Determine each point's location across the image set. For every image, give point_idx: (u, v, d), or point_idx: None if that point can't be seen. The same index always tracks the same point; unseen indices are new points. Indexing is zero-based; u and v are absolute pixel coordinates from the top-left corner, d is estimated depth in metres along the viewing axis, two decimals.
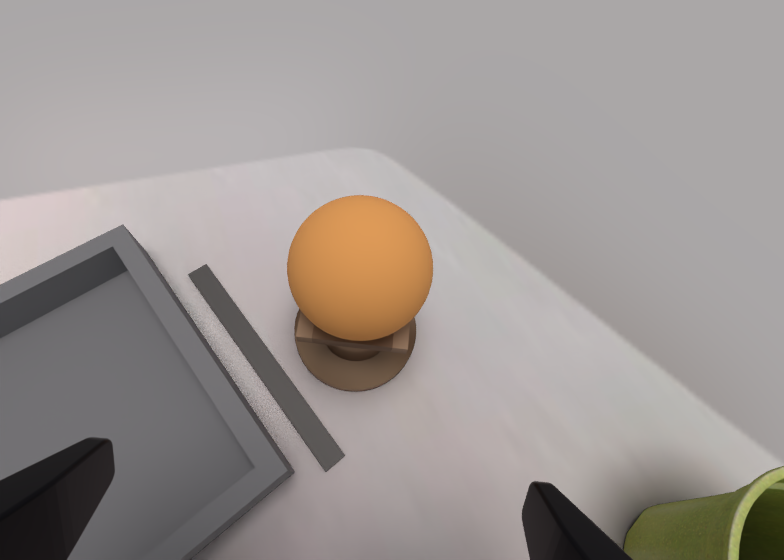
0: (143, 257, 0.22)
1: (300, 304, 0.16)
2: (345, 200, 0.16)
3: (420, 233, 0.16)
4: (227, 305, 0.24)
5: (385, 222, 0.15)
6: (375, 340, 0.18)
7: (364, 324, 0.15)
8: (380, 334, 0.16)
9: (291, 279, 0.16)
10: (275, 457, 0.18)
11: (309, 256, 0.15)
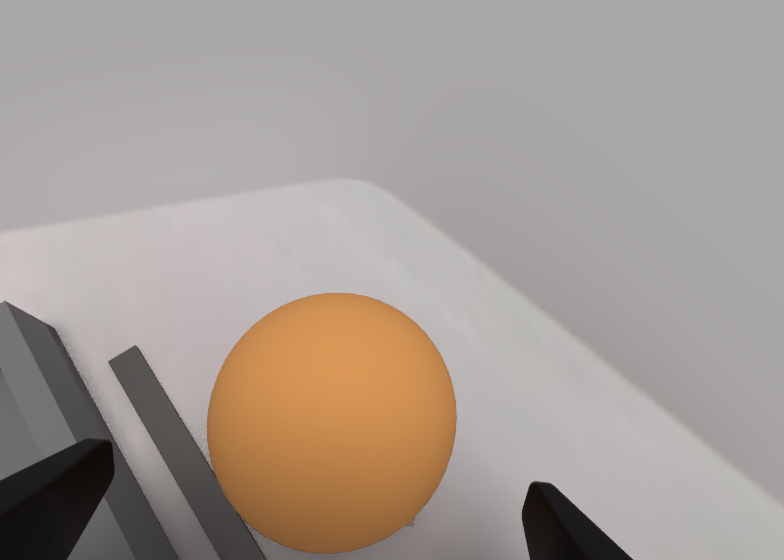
0: (28, 352, 0.15)
1: (226, 496, 0.09)
2: (305, 314, 0.09)
3: (436, 368, 0.09)
4: (160, 407, 0.17)
5: (374, 364, 0.08)
6: None
7: (336, 548, 0.08)
8: (367, 544, 0.09)
9: None
10: None
11: (233, 432, 0.08)
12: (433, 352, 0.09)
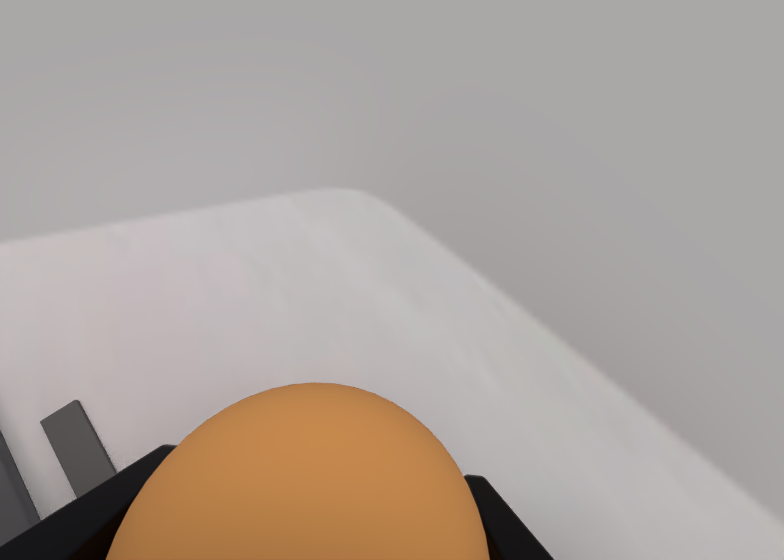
0: None
1: None
2: (249, 450, 0.05)
3: (464, 530, 0.06)
4: (102, 481, 0.14)
5: None
6: None
7: None
8: None
9: None
10: None
11: None
12: (458, 496, 0.06)
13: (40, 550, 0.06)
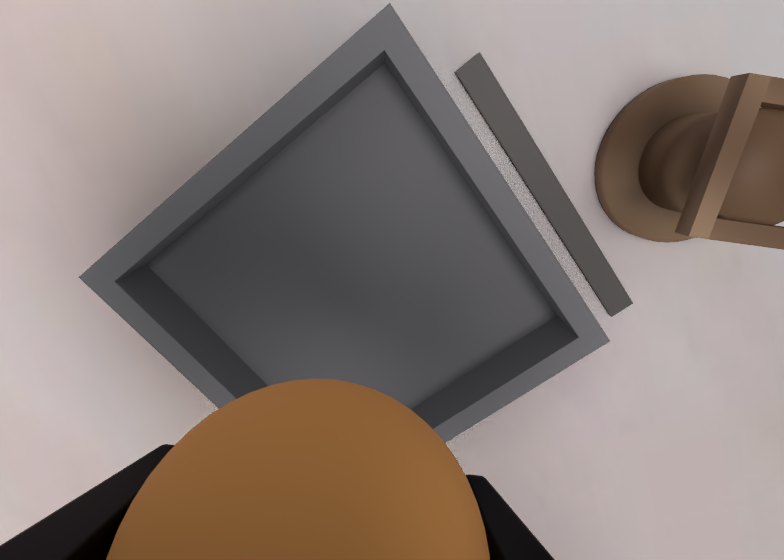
0: (431, 71, 0.14)
1: None
2: (251, 444, 0.05)
3: (464, 523, 0.06)
4: (512, 123, 0.18)
5: (363, 555, 0.05)
6: None
7: None
8: None
9: None
10: (599, 329, 0.18)
11: None
12: (457, 489, 0.06)
13: (40, 550, 0.06)
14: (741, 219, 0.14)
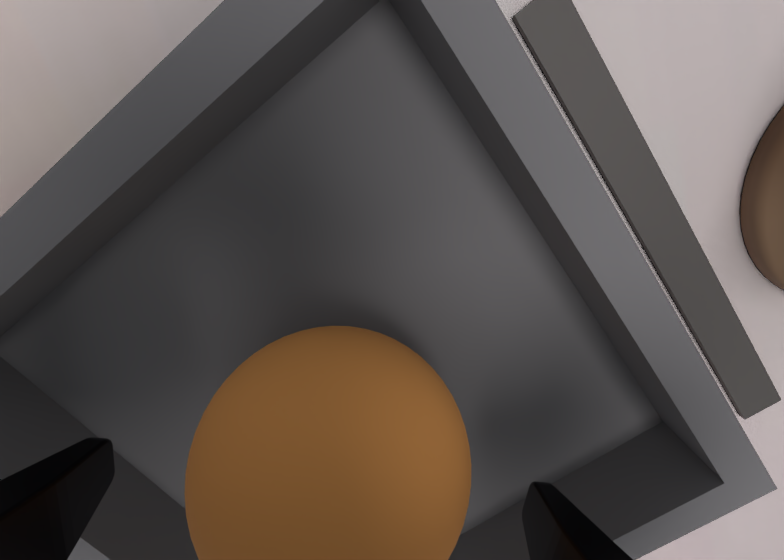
0: None
1: None
2: (299, 360, 0.08)
3: (451, 414, 0.08)
4: (609, 110, 0.10)
5: (385, 422, 0.07)
6: None
7: None
8: None
9: (189, 529, 0.07)
10: (761, 471, 0.10)
11: (218, 511, 0.07)
12: (445, 394, 0.08)
13: None
14: None
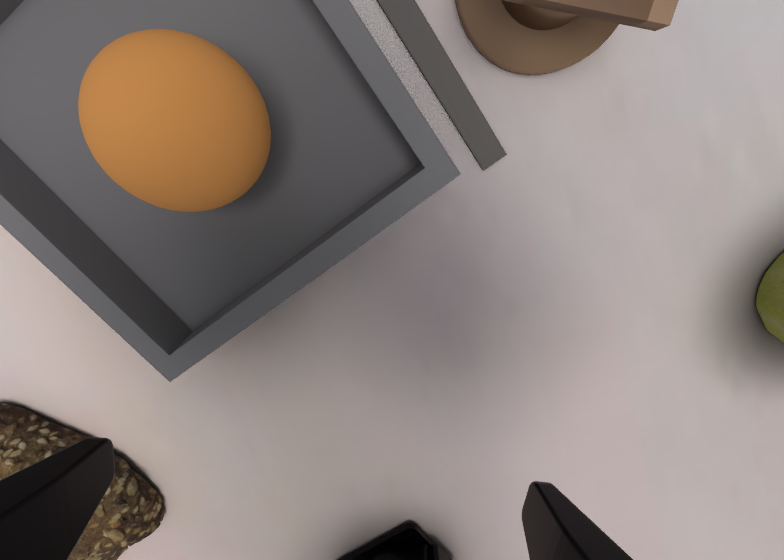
0: None
1: (103, 158, 0.13)
2: (149, 29, 0.13)
3: (250, 79, 0.14)
4: None
5: (203, 52, 0.13)
6: (625, 5, 0.12)
7: (192, 176, 0.13)
8: (215, 195, 0.14)
9: (85, 125, 0.12)
10: (447, 158, 0.16)
11: (105, 87, 0.12)
12: (248, 74, 0.14)
13: None
14: None
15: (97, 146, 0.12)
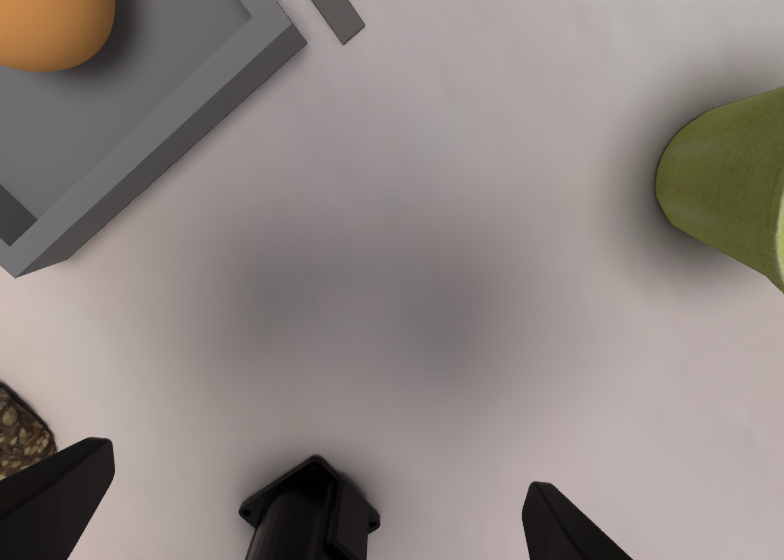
0: None
1: None
2: None
3: None
4: None
5: None
6: None
7: (27, 7, 0.12)
8: (58, 40, 0.14)
9: None
10: (275, 5, 0.15)
11: None
12: None
13: None
14: None
15: None
